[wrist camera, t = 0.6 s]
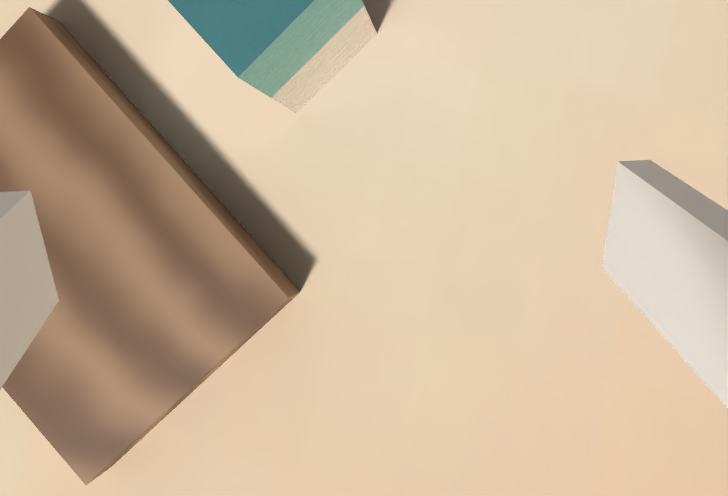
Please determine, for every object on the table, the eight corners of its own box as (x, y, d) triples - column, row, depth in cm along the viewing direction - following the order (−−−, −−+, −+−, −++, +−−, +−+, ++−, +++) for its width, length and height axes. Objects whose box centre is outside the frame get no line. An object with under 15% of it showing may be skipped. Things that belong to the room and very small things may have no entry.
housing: (301, -48, 41) (244, -143, 30) (377, 33, 40) (346, -33, 30) (223, 33, 42) (140, -31, 31) (296, 112, 41) (237, 77, 31)
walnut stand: (58, 21, 43) (29, 7, 40) (300, 291, 42) (288, 297, 39) (-112, 206, 46) (-152, 206, 43) (110, 467, 44) (85, 485, 42)
